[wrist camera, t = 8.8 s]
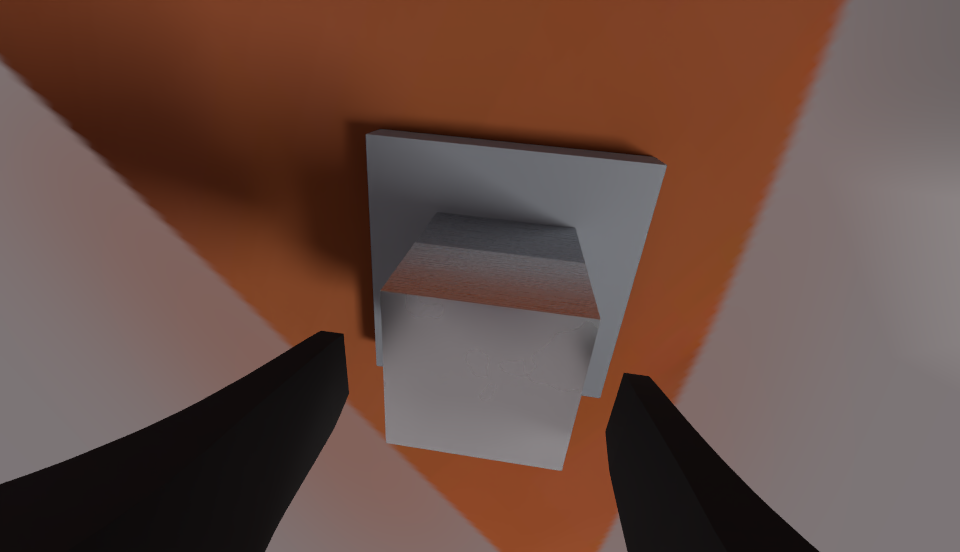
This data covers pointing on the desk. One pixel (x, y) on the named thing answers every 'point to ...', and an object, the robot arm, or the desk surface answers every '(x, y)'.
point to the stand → (516, 209)
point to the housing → (488, 340)
